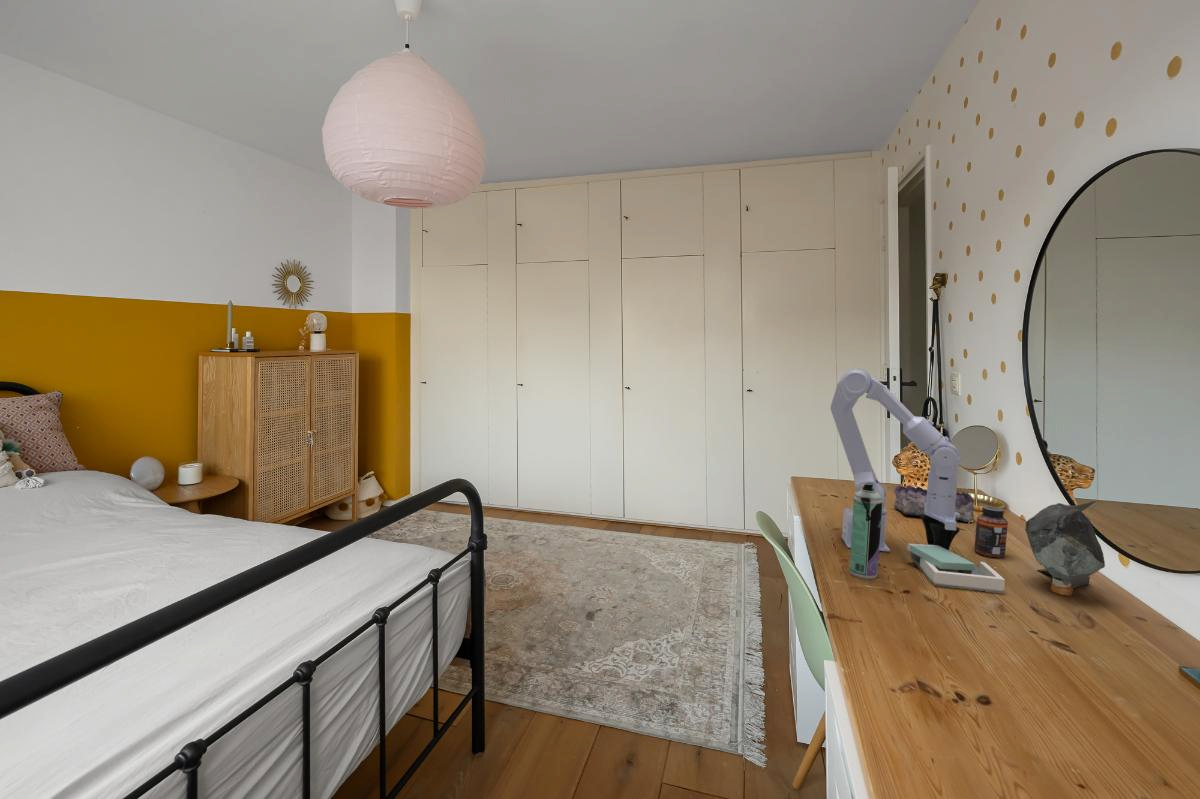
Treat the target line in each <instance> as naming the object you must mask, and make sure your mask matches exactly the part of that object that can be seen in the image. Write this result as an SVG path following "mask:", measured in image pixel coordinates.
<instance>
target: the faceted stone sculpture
mask: <svg viewBox="0 0 1200 799" xmlns="http://www.w3.org/2000/svg"><path fill="white" fill-rule="evenodd" d="M1096 502H1097V500H1094V501H1089V502H1085V503H1080V504H1075V505H1071V504H1064V503H1061V502H1060V503H1059V502H1057V503H1055V504H1050V505H1048V506H1046V507H1045V508H1043V509H1041V510H1040V511H1038V513H1036V514H1034V515H1033V516H1032V517H1031V518H1029V519H1027V521H1025V529H1024V531H1025V534H1026V535H1027V539H1028V542H1029V545H1030V548H1031V550H1032V554H1033V556H1034V558H1035V560H1036V562H1038V563H1039V564H1040V565H1042V566H1043V567H1044V568H1041V569H1037V570H1036V571H1038V572H1040V573H1043V574H1045V575H1049V576H1052V581H1051V586H1050V590H1051V591H1052V592H1053V593H1055V594H1058V595H1061V596H1067V597H1072V596H1074V589H1076V588H1079V587H1083V586H1086V585H1089V584H1090V581H1091V580H1090V579H1091V576H1092V575H1094V574H1095V573H1097V572H1099V571H1100V570H1102V569H1104V568H1105V567H1106V563H1105V557H1104V556H1105V555H1104V553H1103V551H1104V550H1103V549H1102V546H1101V544H1100V542H1099V540H1098V537H1097V536H1096V532H1095V529H1094V528H1093V525H1092V524H1091V519H1089V517H1088V516H1087V515H1086V514H1085V513H1084V512H1083V511H1084V510H1086V509H1088V508H1089V507H1090V506H1091V505H1093V504H1094V503H1096Z"/></svg>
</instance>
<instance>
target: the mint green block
mask: <svg viewBox="0 0 1200 799" xmlns="http://www.w3.org/2000/svg"><path fill="white" fill-rule="evenodd" d="M906 550H907V551H909V552H911V553H910V557H911V560H912V559H913V560H914V561H918V562H919V561H920V557H921V558H923V559H925V560H926V561H928V562H930V563H932V564H933V565H935V567H936V568H937V570H938V571H945V572H947V571H948V570H947V569H954V570H958V571H959V573H964V574H972V571H974V570H975V565H976V564H975V563H974V562H972V561H971V560H968V559H967V558H964V557H962V556H960V555H958V554H956V553H955V552H953V551H950V549H949V550H947V549H945V548H943V547H941V546H939V545H928V544H926V543H925V544H922V543H907V544H906ZM913 560H912V561H913ZM914 561H913V562H914Z"/></svg>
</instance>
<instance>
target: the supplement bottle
mask: <svg viewBox="0 0 1200 799" xmlns="http://www.w3.org/2000/svg"><path fill="white" fill-rule="evenodd" d="M1004 511H1005V510H1004V509H1003V508H1001V507H997V506H991V505H984V506H983V507H982V511H981V512H982V513H980V514H978V516H977V517H976V524H975V525H976V526H975V536H974V537H975V538H974V547H973V548H974V551H975V552H976V553H978V554H979V555H980V556H984V557H987V556H988V558H992V557H995V558H994V559H1001V558H1004V557H1005V555H1006V554H1005V553H1006V545H1007V536H1008V524H1009V522H1008V520H1007V518H1005V516H1004Z"/></svg>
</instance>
